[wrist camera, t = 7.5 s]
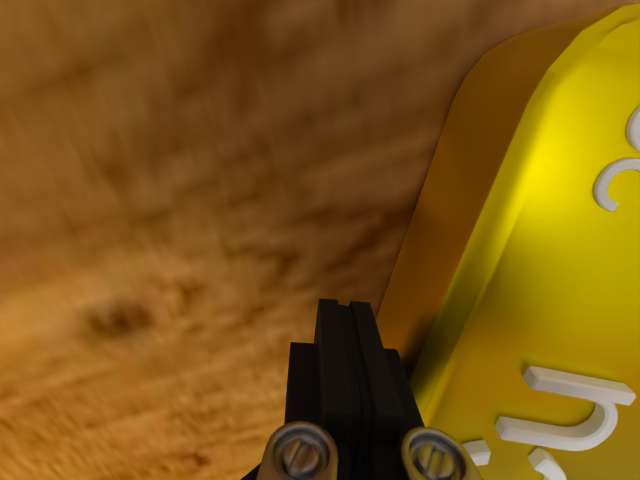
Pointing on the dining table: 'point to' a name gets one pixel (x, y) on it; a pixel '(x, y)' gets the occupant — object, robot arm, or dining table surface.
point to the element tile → (532, 258)
